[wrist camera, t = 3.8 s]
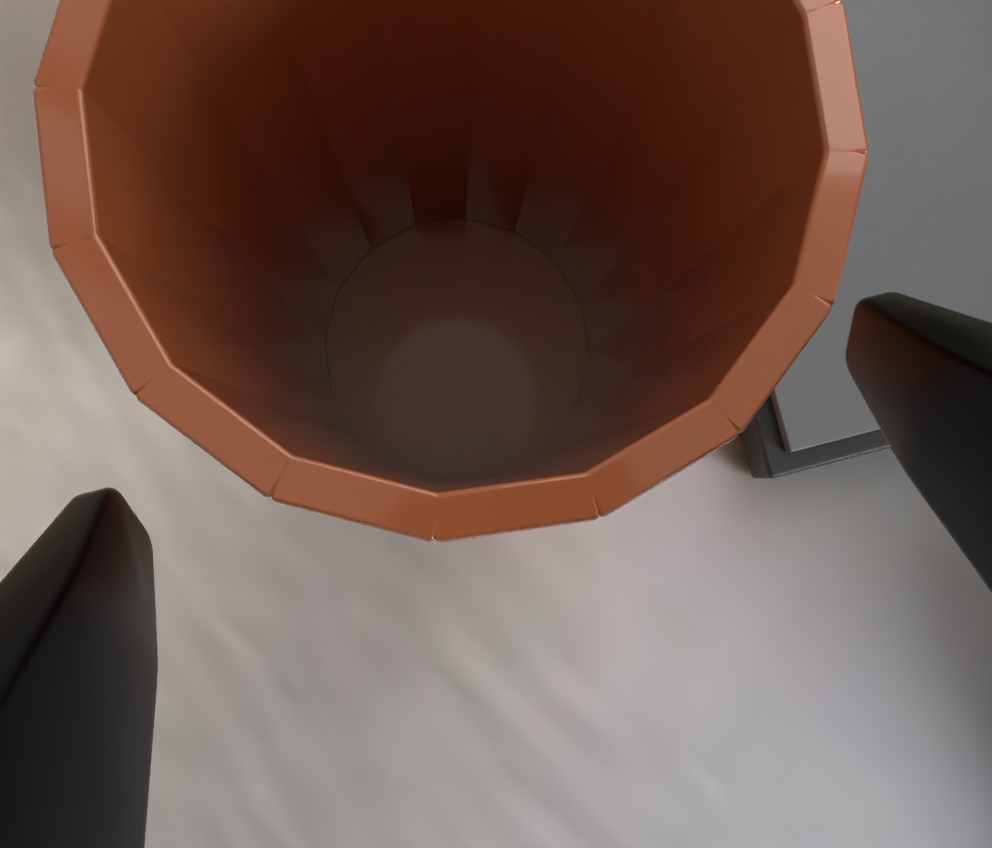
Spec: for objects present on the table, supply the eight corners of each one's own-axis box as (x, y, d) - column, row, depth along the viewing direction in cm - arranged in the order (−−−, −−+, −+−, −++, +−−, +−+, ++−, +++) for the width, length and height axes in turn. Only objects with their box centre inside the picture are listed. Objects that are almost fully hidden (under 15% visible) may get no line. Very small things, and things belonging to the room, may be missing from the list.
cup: (558, 525, 19) (761, 628, 6) (282, 453, 19) (-73, 411, 6) (626, 256, 19) (939, -142, 7) (358, 183, 19) (173, -367, 7)
